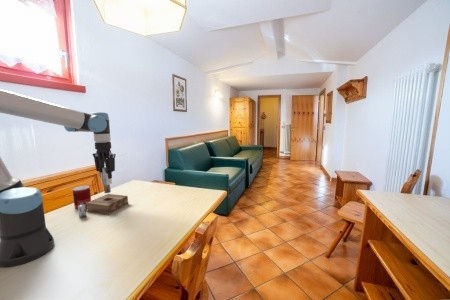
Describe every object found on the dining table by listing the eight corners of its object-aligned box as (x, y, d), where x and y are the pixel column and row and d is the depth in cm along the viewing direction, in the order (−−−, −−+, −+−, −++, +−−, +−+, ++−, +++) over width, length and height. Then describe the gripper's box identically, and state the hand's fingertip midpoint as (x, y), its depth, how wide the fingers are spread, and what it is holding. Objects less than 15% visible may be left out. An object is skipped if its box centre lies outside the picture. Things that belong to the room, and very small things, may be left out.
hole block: (108, 214, 102) (107, 205, 101) (87, 211, 105) (86, 202, 105) (128, 204, 115) (127, 195, 114) (108, 201, 119) (108, 193, 118)
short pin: (82, 218, 98) (81, 207, 97) (77, 217, 99) (76, 206, 98) (87, 215, 101) (86, 204, 100) (83, 214, 102) (82, 203, 101)
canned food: (94, 203, 116) (92, 185, 115) (83, 209, 108) (81, 190, 107) (82, 203, 117) (80, 185, 115) (71, 208, 109) (68, 189, 107)
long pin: (107, 193, 107) (105, 168, 105) (103, 192, 108) (100, 168, 106) (111, 191, 110) (109, 167, 108) (107, 191, 111) (105, 166, 109)
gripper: (120, 141, 107) (123, 182, 110) (97, 140, 111) (101, 180, 114) (109, 142, 99) (113, 187, 103) (84, 142, 104) (89, 184, 107)
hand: (106, 183), depth 108 cm, fingers closed on long pin, 3 cm apart
